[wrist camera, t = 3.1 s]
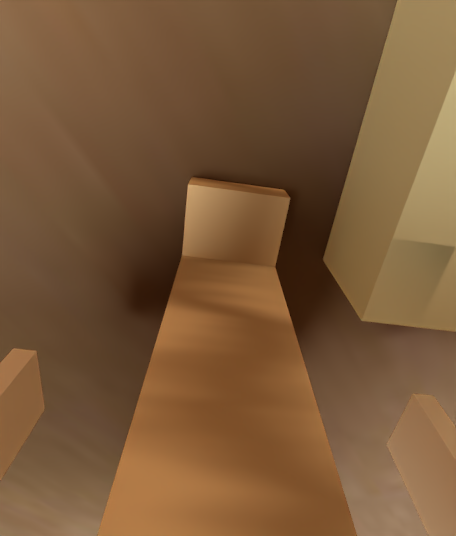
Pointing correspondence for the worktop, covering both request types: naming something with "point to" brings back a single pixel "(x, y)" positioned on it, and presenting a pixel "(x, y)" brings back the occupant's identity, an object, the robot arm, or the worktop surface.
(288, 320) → the wooden stepped block
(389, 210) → the well block
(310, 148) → the worktop surface
